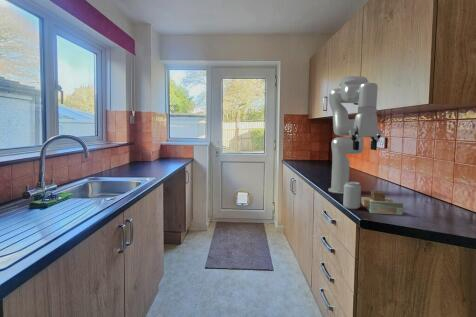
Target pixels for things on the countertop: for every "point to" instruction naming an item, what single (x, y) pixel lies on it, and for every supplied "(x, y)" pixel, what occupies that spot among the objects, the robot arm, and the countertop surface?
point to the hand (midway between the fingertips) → (364, 150)
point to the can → (352, 195)
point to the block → (377, 195)
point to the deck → (382, 206)
